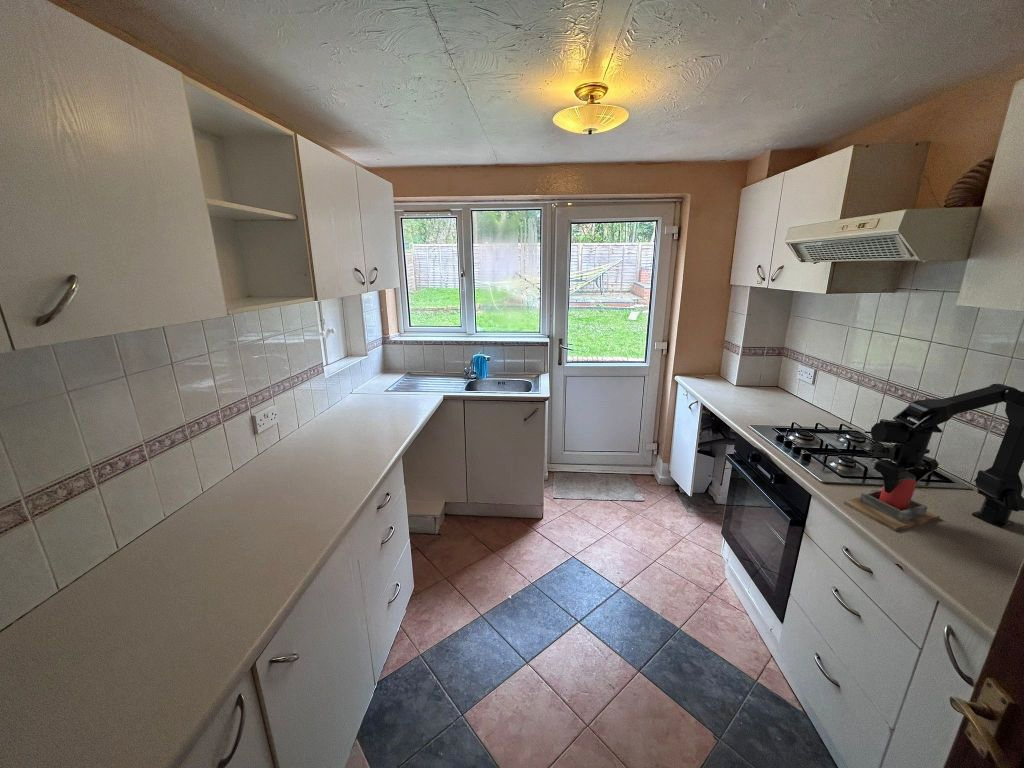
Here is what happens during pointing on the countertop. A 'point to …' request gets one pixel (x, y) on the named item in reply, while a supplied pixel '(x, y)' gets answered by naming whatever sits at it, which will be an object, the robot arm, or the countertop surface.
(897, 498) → the beer can
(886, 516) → the can holder
